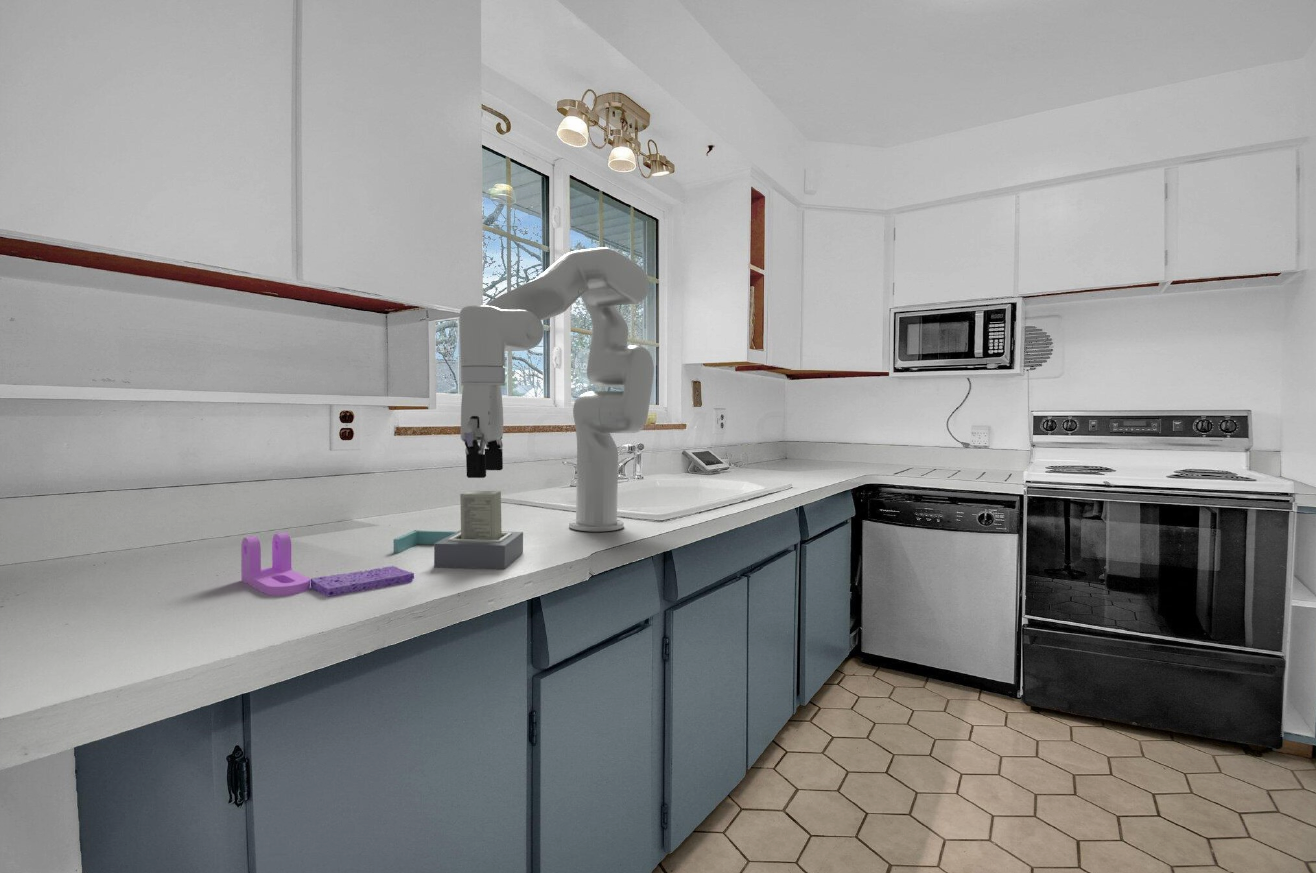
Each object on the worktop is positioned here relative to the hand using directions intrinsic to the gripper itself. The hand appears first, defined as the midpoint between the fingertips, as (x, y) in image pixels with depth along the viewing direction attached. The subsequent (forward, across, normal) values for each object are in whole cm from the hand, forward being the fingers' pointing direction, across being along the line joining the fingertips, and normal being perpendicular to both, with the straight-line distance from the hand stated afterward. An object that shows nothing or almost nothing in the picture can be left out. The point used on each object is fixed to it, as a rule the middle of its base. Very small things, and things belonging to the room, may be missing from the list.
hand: (485, 473), depth 109 cm
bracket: (+14, +20, -25) cm, 35 cm away
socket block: (+15, +2, -1) cm, 15 cm away
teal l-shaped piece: (+15, -6, -13) cm, 21 cm away
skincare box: (+16, +2, -1) cm, 16 cm away
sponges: (+15, +18, -13) cm, 27 cm away
